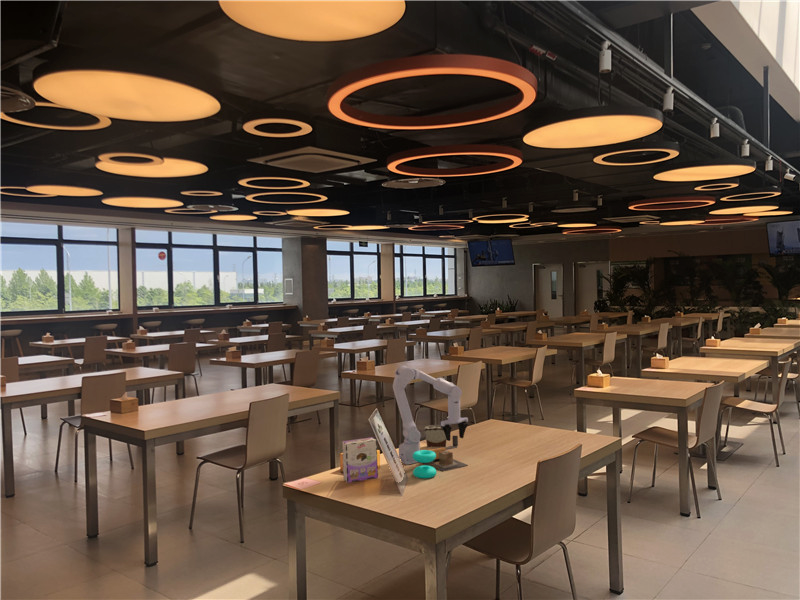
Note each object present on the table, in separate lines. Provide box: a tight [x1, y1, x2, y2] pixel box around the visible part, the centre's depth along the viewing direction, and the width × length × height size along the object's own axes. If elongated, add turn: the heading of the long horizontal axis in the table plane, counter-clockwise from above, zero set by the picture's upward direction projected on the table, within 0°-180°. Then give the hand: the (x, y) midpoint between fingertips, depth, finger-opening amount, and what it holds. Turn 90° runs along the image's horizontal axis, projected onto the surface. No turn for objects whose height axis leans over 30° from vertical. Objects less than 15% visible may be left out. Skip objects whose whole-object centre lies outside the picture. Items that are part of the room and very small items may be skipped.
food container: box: [423, 424, 447, 448], centre depth 298 cm, size 12×6×10 cm, turn 84°
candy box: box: [341, 436, 379, 483], centre depth 250 cm, size 14×6×16 cm, turn 111°
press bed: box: [423, 458, 468, 472], centre depth 267 cm, size 14×18×3 cm
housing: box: [439, 450, 454, 465], centre depth 265 cm, size 4×4×5 cm
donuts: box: [412, 449, 437, 480], centre depth 251 cm, size 10×10×10 cm
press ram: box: [429, 435, 459, 460], centre depth 274 cm, size 18×2×8 cm, turn 121°
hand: (454, 439), depth 278 cm, fingers open, 7 cm apart
